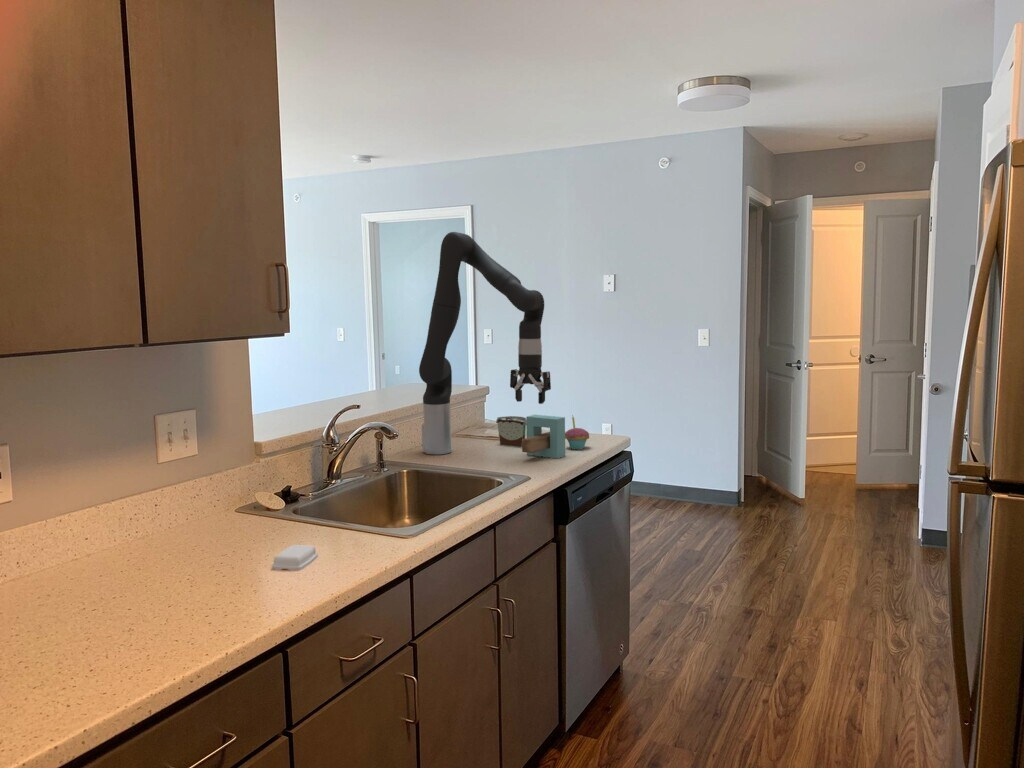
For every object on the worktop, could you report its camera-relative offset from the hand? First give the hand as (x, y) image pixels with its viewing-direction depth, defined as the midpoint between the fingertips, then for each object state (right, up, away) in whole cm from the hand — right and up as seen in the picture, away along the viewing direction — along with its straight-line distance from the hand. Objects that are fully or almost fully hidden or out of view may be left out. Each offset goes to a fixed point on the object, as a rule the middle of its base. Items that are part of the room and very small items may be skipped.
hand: (530, 402), depth 243 cm
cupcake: (+17, -17, +19) cm, 30 cm away
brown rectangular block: (+5, -15, +7) cm, 17 cm away
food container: (-5, -16, +27) cm, 32 cm away
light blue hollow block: (+5, -18, +8) cm, 20 cm away
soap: (-50, -31, -90) cm, 108 cm away
